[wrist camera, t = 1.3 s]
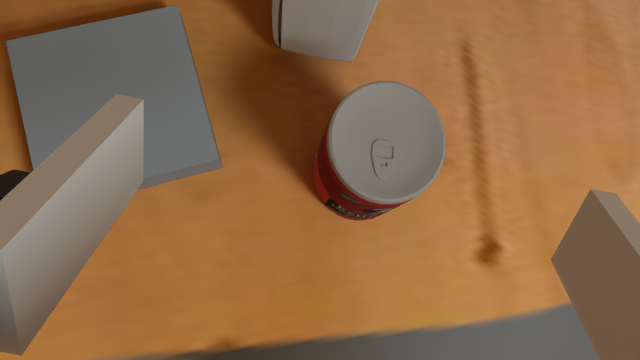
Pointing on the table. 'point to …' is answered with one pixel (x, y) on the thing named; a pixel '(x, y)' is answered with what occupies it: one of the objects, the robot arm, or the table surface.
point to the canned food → (378, 150)
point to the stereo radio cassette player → (322, 26)
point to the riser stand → (117, 88)
